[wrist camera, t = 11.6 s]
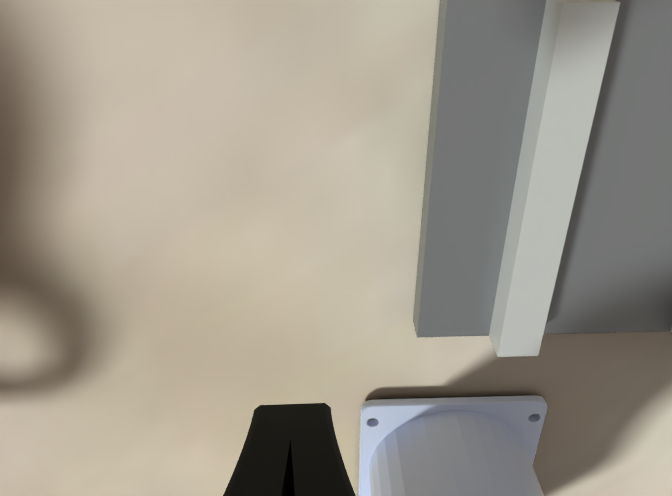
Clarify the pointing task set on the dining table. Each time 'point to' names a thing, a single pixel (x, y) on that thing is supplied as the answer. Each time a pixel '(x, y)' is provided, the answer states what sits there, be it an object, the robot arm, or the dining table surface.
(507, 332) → the board
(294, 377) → the dining table surface
